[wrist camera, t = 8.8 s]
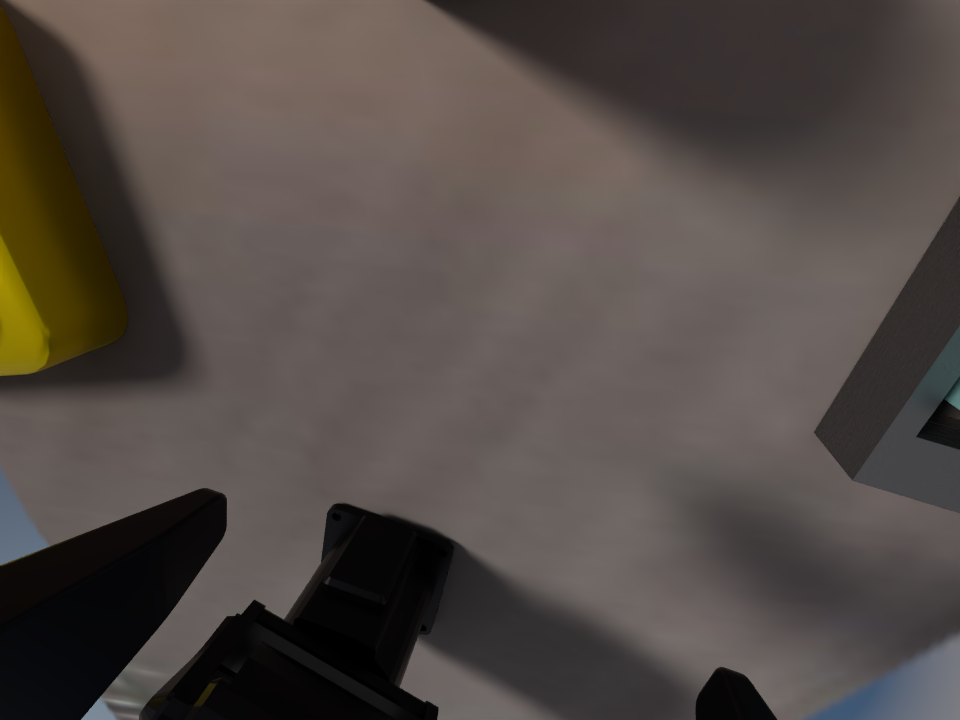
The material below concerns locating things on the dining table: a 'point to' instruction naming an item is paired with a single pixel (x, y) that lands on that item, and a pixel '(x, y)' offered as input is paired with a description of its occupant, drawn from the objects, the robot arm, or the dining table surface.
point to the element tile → (45, 237)
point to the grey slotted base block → (907, 387)
